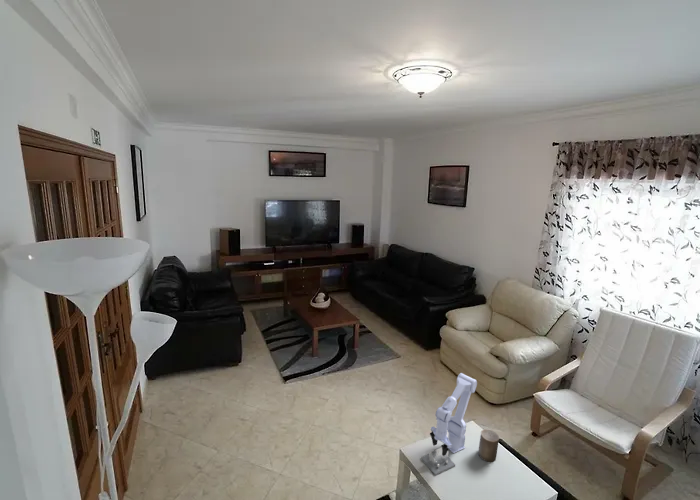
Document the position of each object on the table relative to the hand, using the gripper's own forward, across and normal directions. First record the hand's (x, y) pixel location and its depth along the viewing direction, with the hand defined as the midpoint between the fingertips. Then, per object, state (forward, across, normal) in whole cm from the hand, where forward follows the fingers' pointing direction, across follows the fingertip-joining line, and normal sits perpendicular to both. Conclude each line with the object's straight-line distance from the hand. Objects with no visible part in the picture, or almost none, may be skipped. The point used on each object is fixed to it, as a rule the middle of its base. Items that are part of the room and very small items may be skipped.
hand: (439, 449), depth 192 cm
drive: (+7, 0, 0) cm, 7 cm away
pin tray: (+8, 0, 0) cm, 8 cm away
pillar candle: (+9, +8, +29) cm, 31 cm away
